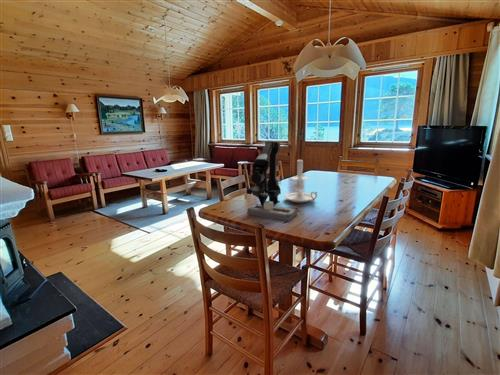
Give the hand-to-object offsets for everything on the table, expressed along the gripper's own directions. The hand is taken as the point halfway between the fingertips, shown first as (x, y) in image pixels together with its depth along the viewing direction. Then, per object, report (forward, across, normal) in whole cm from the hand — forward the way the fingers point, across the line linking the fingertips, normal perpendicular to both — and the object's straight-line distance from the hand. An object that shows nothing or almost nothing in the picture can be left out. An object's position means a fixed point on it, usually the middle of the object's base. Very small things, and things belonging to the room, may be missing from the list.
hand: (262, 206), depth 157 cm
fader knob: (+2, +4, 0) cm, 4 cm away
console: (+4, +6, 0) cm, 7 cm away
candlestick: (+4, +12, +32) cm, 34 cm away
